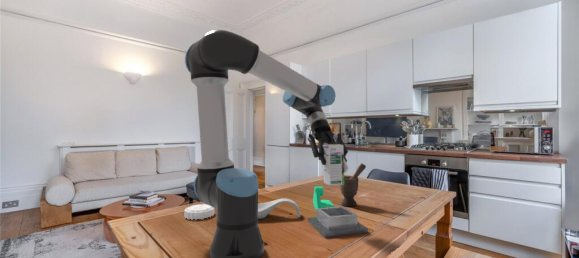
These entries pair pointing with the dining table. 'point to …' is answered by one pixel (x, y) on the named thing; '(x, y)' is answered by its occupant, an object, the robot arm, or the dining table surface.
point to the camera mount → (317, 201)
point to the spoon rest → (269, 206)
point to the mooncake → (199, 211)
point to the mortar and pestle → (351, 187)
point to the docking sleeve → (336, 222)
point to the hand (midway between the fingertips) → (338, 170)
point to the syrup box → (334, 164)
